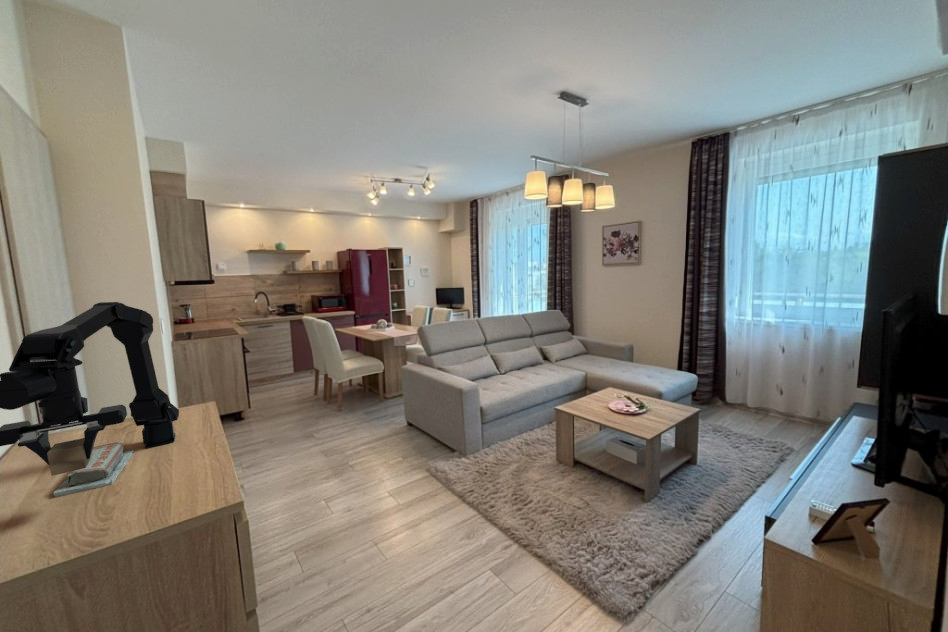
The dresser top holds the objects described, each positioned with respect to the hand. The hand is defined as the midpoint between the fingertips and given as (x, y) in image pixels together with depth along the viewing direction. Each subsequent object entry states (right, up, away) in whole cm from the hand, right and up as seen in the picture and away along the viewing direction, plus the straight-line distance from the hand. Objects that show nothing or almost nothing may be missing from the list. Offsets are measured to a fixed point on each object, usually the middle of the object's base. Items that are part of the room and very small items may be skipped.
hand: (71, 462), depth 80 cm
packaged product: (-9, -9, +15) cm, 19 cm away
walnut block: (0, -1, 0) cm, 1 cm away
